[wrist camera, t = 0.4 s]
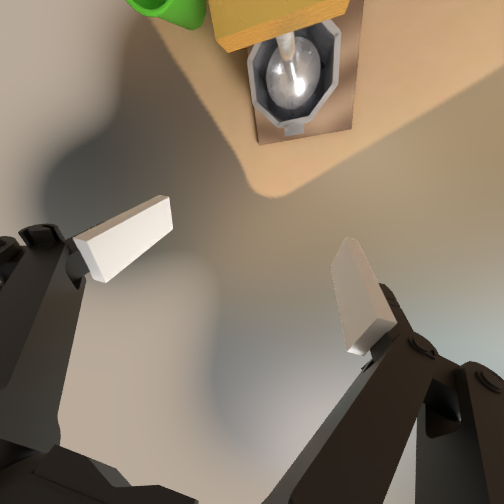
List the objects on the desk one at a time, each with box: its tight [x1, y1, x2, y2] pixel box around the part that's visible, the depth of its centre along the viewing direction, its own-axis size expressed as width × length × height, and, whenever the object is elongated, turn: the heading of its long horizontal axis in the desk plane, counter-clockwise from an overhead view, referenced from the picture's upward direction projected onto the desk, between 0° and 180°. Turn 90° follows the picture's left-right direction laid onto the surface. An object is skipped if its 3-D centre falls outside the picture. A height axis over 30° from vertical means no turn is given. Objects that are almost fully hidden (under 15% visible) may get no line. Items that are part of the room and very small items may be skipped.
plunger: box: [208, 0, 350, 109], centre depth 16 cm, size 6×6×18 cm
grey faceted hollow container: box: [247, 19, 341, 137], centre depth 25 cm, size 14×10×11 cm
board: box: [247, 0, 364, 146], centre depth 30 cm, size 15×16×1 cm
